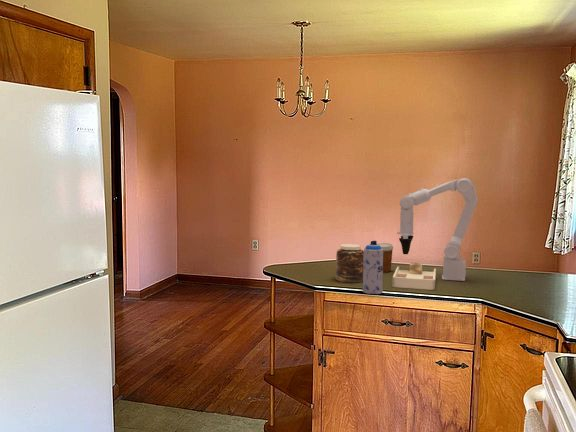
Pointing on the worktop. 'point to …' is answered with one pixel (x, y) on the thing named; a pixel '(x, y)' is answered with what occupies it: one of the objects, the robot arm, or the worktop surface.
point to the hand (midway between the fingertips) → (406, 252)
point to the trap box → (414, 279)
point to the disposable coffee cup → (386, 256)
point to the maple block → (416, 268)
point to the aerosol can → (373, 269)
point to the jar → (349, 263)
